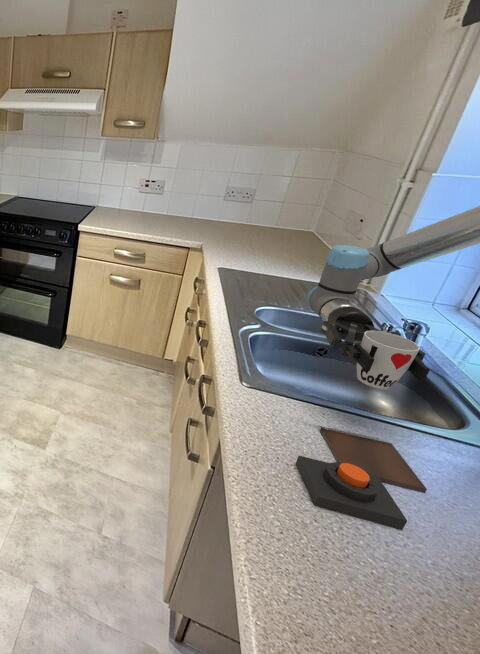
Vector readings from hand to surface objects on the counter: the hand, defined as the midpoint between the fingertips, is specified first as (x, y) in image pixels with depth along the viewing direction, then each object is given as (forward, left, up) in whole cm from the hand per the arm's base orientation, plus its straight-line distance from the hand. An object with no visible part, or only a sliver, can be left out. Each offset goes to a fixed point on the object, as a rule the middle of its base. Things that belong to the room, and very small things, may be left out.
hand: (396, 369), depth 80 cm
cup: (0, -5, -6) cm, 8 cm away
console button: (+9, +18, -14) cm, 25 cm away
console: (+9, +18, -18) cm, 27 cm away
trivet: (+1, +6, -18) cm, 19 cm away
